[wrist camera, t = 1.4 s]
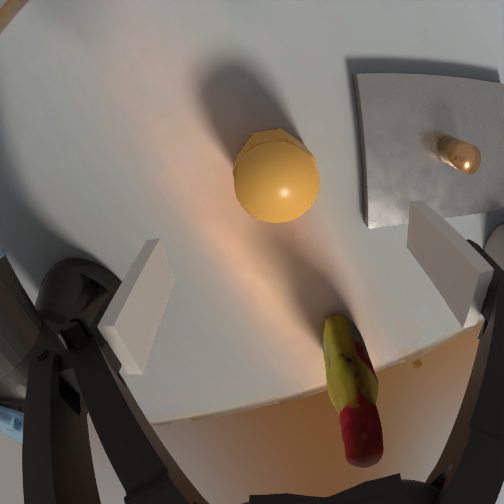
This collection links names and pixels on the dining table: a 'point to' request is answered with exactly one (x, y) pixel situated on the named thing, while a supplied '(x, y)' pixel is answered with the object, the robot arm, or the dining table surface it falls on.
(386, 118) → the plate
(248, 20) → the dining table surface
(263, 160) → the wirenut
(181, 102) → the dining table surface
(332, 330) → the bottle
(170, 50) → the dining table surface
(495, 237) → the cup
